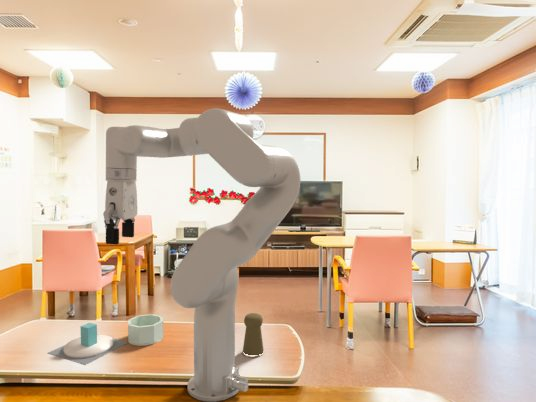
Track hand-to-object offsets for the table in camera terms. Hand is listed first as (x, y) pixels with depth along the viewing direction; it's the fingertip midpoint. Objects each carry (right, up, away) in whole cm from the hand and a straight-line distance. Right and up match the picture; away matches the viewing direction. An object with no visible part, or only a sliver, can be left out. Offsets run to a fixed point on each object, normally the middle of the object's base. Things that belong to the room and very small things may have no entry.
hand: (120, 240), depth 103 cm
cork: (+35, -33, +8) cm, 48 cm away
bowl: (+2, -32, +16) cm, 35 cm away
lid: (-12, -32, +9) cm, 35 cm away
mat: (-12, -32, +9) cm, 36 cm away
